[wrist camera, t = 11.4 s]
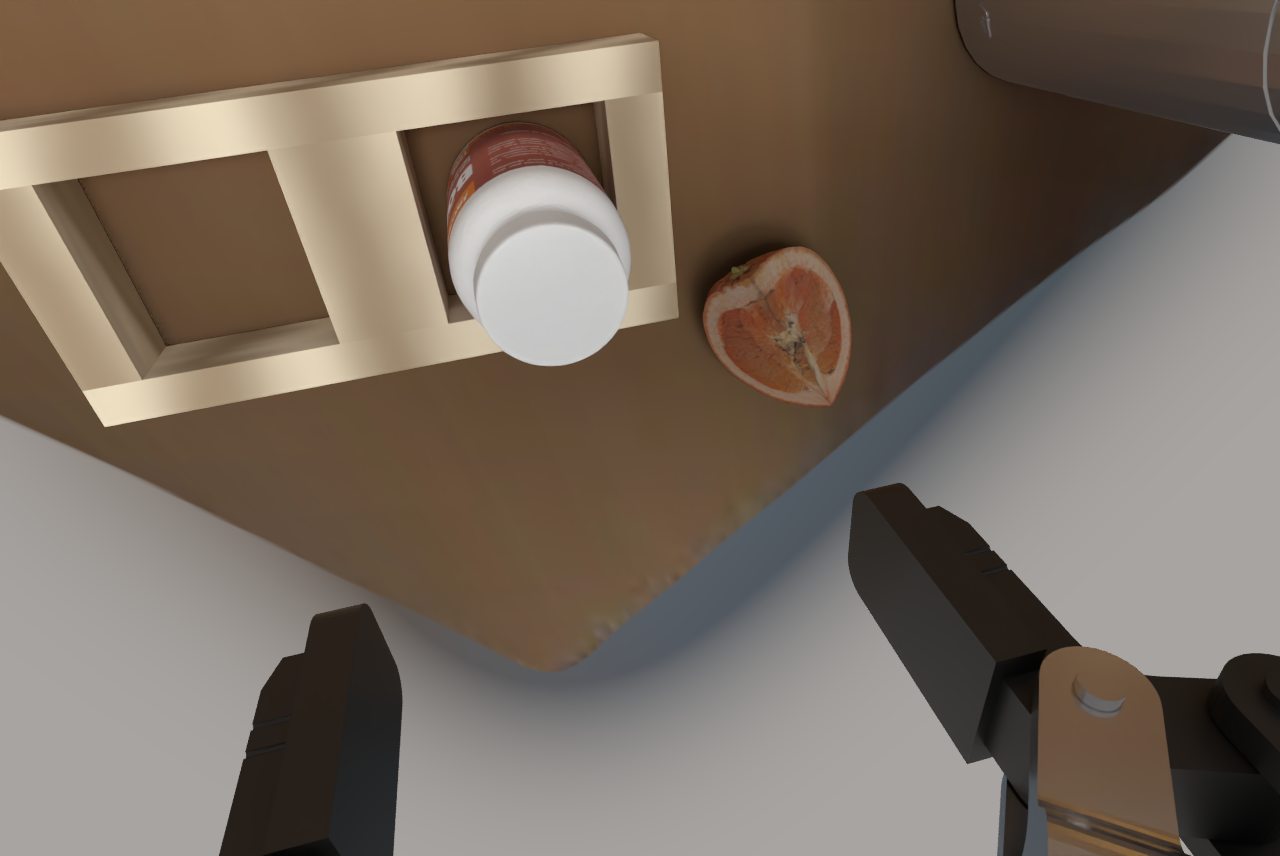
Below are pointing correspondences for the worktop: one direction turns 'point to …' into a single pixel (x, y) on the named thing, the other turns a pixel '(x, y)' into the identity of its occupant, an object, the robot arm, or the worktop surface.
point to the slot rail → (316, 217)
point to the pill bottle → (536, 245)
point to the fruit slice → (782, 326)
